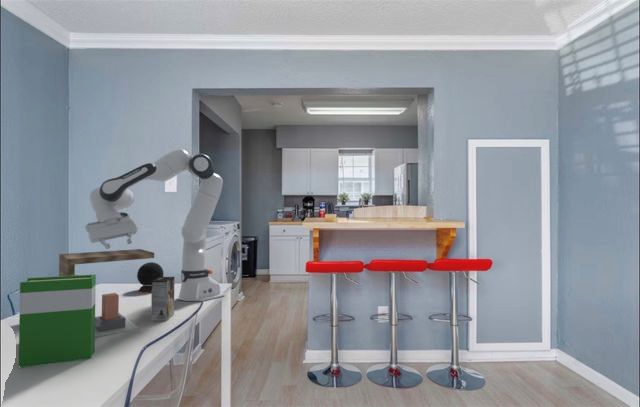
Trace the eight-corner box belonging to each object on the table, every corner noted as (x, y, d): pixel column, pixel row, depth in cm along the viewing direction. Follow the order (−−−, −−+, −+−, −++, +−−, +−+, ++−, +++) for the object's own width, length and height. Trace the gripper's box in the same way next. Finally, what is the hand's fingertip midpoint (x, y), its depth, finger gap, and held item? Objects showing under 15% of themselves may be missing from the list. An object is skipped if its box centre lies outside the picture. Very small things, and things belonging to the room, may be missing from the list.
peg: (114, 324, 146) (115, 292, 146) (118, 327, 143) (118, 294, 143) (101, 326, 143) (102, 294, 143) (104, 329, 140) (105, 296, 140)
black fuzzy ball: (132, 290, 207) (132, 262, 207) (155, 286, 217) (155, 260, 217) (144, 293, 199) (145, 265, 199) (168, 289, 209) (168, 262, 209)
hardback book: (18, 367, 108) (20, 282, 108) (26, 358, 115) (28, 277, 115) (90, 358, 115) (92, 278, 115) (94, 350, 122) (95, 274, 122)
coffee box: (159, 314, 162) (159, 276, 162) (174, 314, 162) (175, 276, 162) (150, 321, 152) (151, 280, 153) (167, 320, 153) (167, 280, 153)
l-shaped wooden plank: (139, 316, 158) (140, 249, 158) (153, 326, 146) (154, 252, 146) (57, 331, 139) (59, 254, 139) (66, 343, 127) (67, 258, 127)
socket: (126, 319, 154) (126, 309, 154) (139, 328, 143) (139, 318, 143) (80, 327, 143) (80, 316, 143) (90, 338, 132) (90, 326, 132)
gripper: (85, 220, 168) (95, 248, 164) (132, 212, 183) (143, 237, 180) (82, 227, 172) (92, 254, 168) (129, 218, 187) (139, 243, 184)
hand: (119, 245), depth 174 cm, fingers open, 8 cm apart
